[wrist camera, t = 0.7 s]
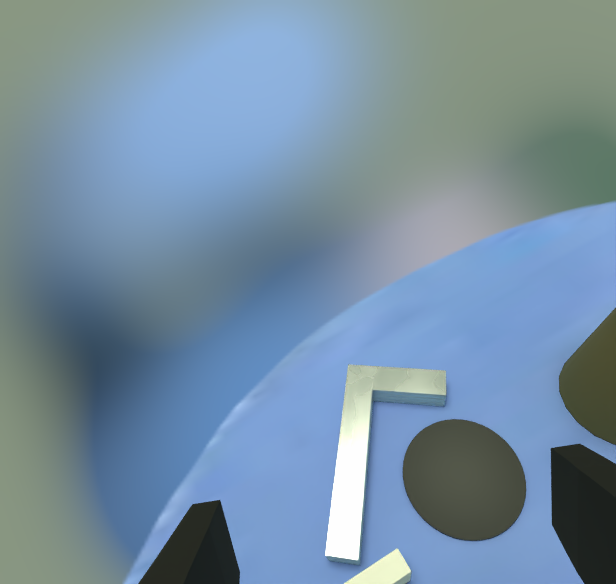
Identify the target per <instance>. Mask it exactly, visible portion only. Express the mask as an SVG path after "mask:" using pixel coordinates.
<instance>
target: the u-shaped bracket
mask: <svg viewBox="0 0 616 584" xmlns="http://www.w3.org/2000/svg"><path fill="white" fill-rule="evenodd" d="M410 579H411V570H410V568H409V567H408V565H407V563H406V562H405V560H404V558H403V557H402V555H401V553H400V552H399V550H398V548H397V549H396V550H394V551H393V552H391V553H390V554H388V555H387V556H385V557H384V558H382V559H381V560H379V561H378V562H376V563H374V564H373V565H371V566H370V567H368V568H367V569H365V570H364V571H362V572H361V573H359V574H358V575H356V576H355V577H353V578H352V579H350V580H349V581H347V582H346V583H344V584H406V583H407V582H409V581H410Z"/></svg>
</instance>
